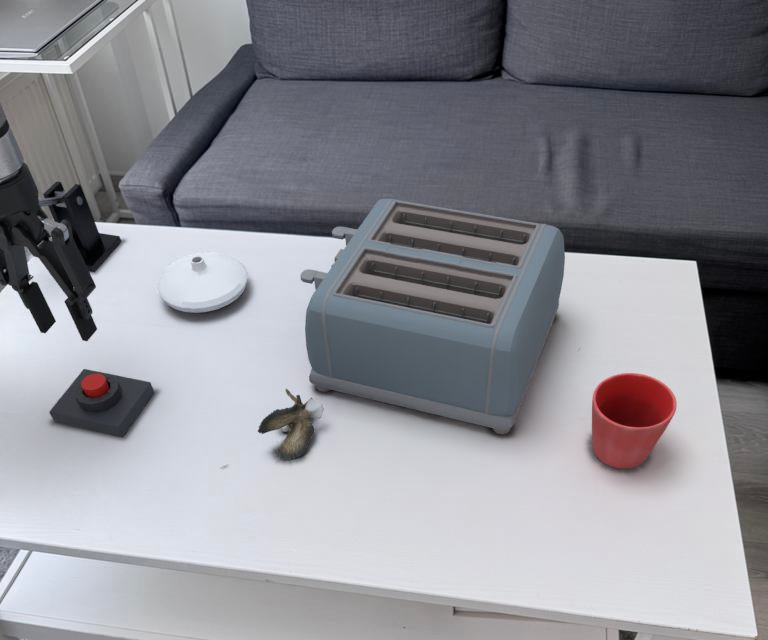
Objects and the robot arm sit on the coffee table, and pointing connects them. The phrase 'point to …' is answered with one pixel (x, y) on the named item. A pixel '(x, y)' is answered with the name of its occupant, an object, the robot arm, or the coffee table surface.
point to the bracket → (82, 226)
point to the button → (95, 385)
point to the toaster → (436, 311)
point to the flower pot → (629, 418)
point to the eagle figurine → (293, 425)
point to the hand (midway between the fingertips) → (69, 330)
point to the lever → (54, 199)
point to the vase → (202, 282)
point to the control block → (103, 404)
